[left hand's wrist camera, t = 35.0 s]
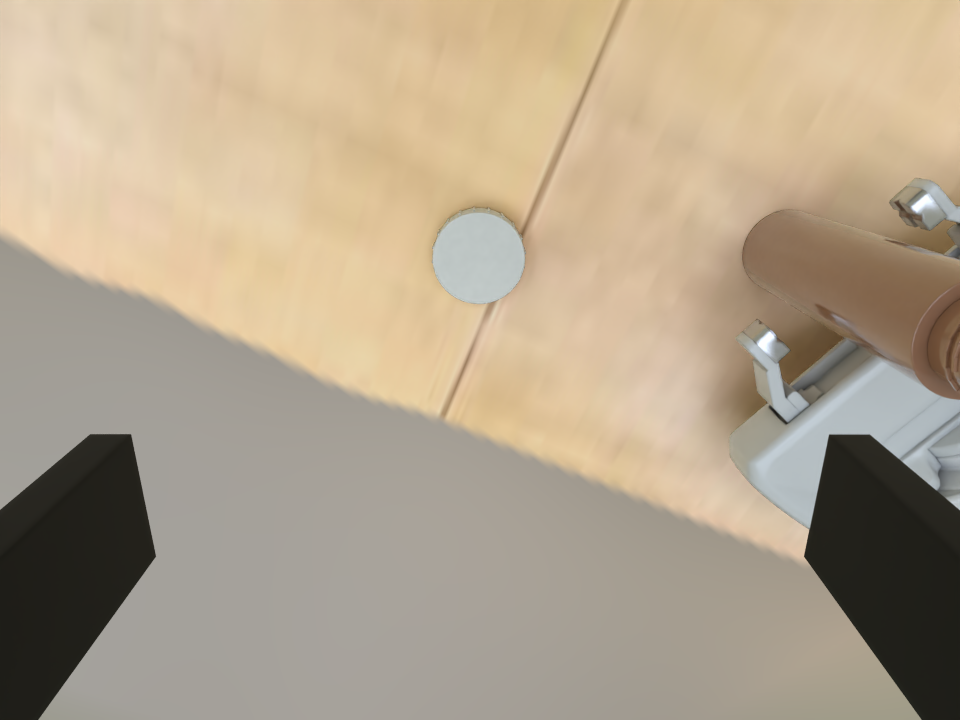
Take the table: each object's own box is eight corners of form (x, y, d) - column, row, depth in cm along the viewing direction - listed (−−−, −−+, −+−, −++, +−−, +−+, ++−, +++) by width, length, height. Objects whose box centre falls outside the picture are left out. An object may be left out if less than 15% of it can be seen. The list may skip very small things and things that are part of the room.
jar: (823, 201, 37) (1100, 271, 21) (826, 281, 39) (1085, 406, 22) (739, 218, 38) (945, 301, 21) (745, 297, 39) (941, 432, 23)
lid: (421, 277, 39) (418, 285, 37) (452, 192, 37) (450, 196, 35) (503, 308, 39) (505, 318, 38) (537, 226, 38) (540, 232, 36)
